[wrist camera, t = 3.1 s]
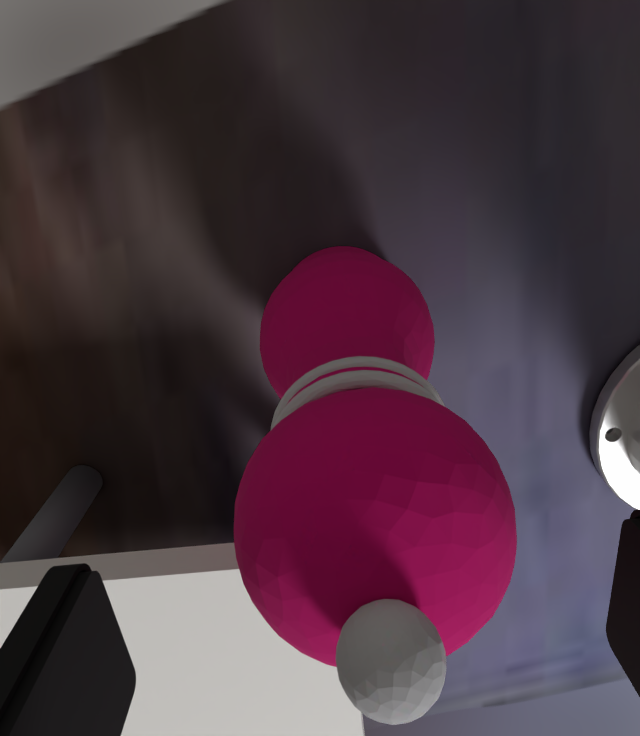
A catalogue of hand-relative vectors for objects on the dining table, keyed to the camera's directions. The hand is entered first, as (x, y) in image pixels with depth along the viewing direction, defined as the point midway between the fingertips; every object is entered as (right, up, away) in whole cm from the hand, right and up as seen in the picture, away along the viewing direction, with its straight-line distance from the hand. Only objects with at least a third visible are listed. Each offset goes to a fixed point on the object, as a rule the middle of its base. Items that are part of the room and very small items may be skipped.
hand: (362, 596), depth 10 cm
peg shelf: (-7, -7, +22) cm, 24 cm away
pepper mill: (0, +7, +17) cm, 18 cm away
